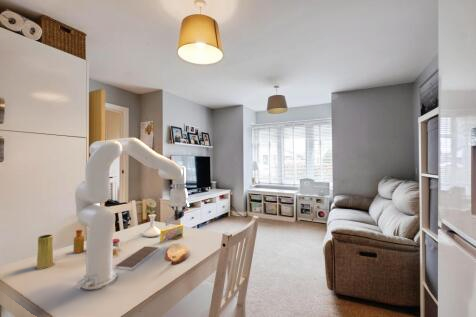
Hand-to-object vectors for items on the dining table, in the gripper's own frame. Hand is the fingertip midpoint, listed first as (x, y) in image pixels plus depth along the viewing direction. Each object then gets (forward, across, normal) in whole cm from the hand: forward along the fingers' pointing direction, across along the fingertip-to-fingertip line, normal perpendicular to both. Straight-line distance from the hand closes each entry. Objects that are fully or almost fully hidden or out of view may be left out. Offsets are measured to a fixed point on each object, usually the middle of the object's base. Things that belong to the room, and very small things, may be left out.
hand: (178, 217), depth 130 cm
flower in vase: (+18, -27, +15) cm, 35 cm away
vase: (+17, -53, -34) cm, 65 cm away
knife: (0, 0, -6) cm, 6 cm away
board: (+17, -14, -18) cm, 28 cm away
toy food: (+17, -40, -15) cm, 46 cm away
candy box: (+18, -9, +9) cm, 22 cm away
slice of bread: (+18, +3, -11) cm, 21 cm away
